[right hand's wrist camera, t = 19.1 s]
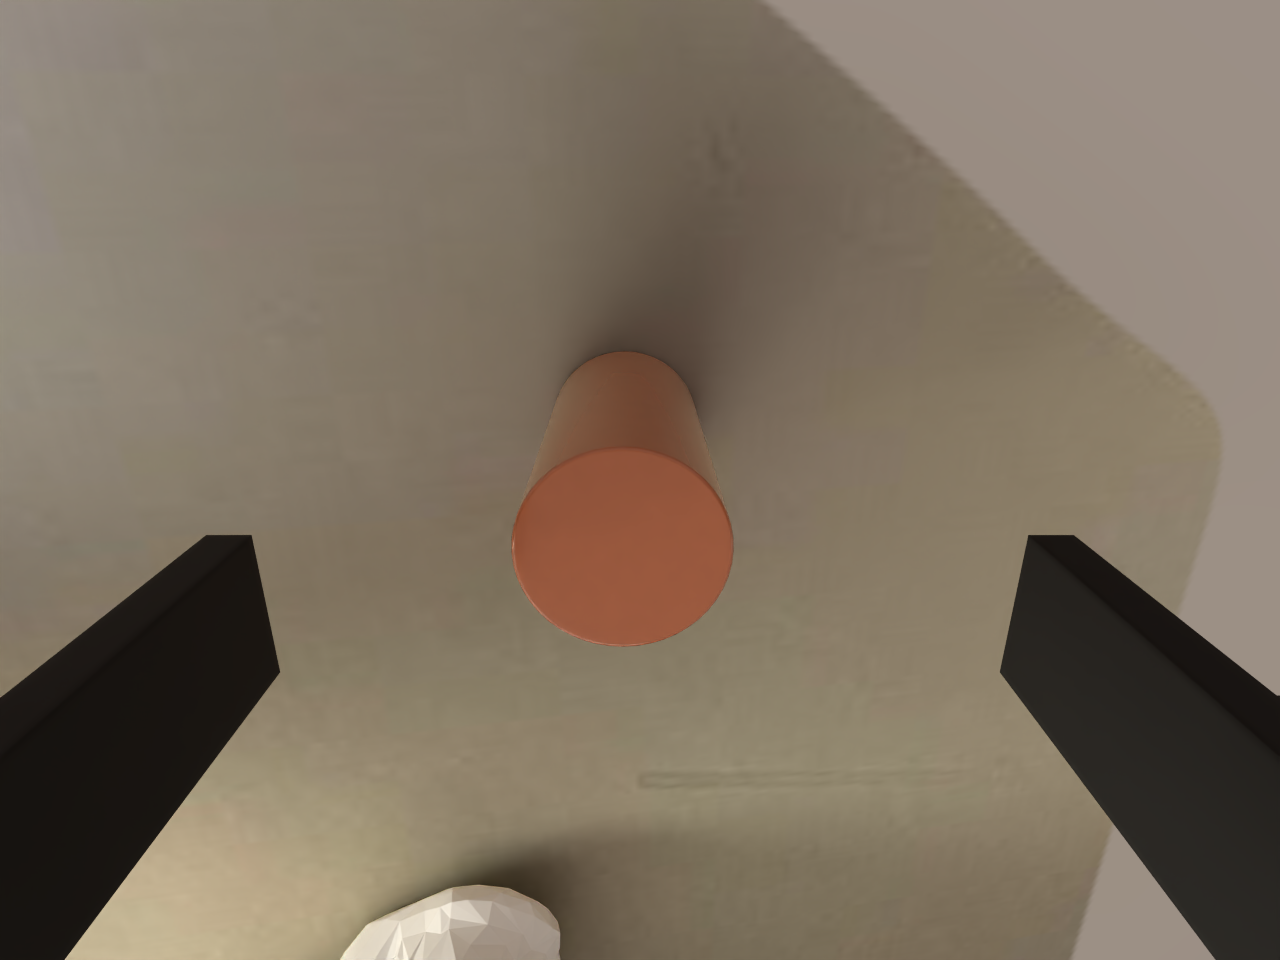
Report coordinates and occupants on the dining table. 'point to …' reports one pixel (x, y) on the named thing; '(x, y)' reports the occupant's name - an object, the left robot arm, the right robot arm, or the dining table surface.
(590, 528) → the terracotta cylinder
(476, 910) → the skull
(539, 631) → the dining table surface
